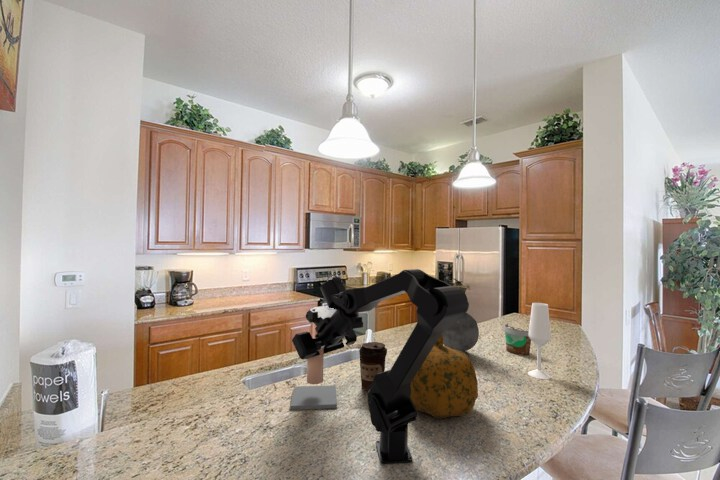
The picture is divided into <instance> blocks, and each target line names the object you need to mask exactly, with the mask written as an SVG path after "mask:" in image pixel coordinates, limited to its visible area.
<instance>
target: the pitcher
mask: <svg viewBox="0 0 720 480" xmlns="http://www.w3.org/2000/svg"><path fill="white" fill-rule="evenodd" d="M452 279H453V280H454V281H455V282H453V281H451V282H450V281H449V285H451V286H457V287H459V288H461V289H462V290H463V291H464V292H465V293H467V290H469V291H471V290H472V288H471V286H470V285H464V284H463V281H462V280H458V279H457V278H454V277H453V278H452ZM442 334H443V346H447V347H449V348H451V349H454V350H458V351H462V352H464V353H465V354H466V355H467V356H468V355H469V354H468V352H467V351H469V350H471V349H473V348H474V346H476V344H477V342H478V340H479V337H480V330H479V325H478V323H477V320H476V319H475V318H474V317H473V316H472V315H471V314H470V313H468V312H466V313H465V314H464V315H463V316H462V317H461V318H460V319H459V320H458V321H457V322H456V323H455V324H454V325H453V326H451V327H450V328H449V329H447V330H446V331H445V332H443V333H442Z"/></svg>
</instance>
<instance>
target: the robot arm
mask: <svg viewBox="0 0 720 480" xmlns="http://www.w3.org/2000/svg"><path fill="white" fill-rule="evenodd" d="M320 291H321V293H322V296H323V298H324V299H325V301H326V305H327V306H328V308H327V307H326V306H323V305H321V306H316V307H312V308H310V309H309V310H307V311H306V313H305V319H306V320H307V321H308V322H309V324H312V323H313V324H314V325H315V326H316V327H315V328H314V330H315V331H316V333H317V334H315V335H314V338H313V336H312V335H311V333H310V332H309V331H308V330H307V331H302V332H298V333H296V334H294V336H293V337H292V338H291V342H292V344H293V346H294V348H295V351H296V352H297V355H298V358H299V359H301V360H307V359H309V358H312V357H315V356H318V355H320V353H319V351H318V350H320V349H321V347H323V346H324V355H325V354H328V353H331V352H334V351H337V350H341V349H343V348H344V347H345V345H346V346H347V347H348V346H352V345H354V344H355V343H356V342H357V341H358V339H357V336H358V335H357V334H356V332H355V330H354V329H361V328H364V322H363V317H362V316H361V315H360V313H364V312H370V311H371V310H373V309H375V308H376V307H377V306H379V304H380V303H381V302H382V301H385V300H388V299H392V298H394V297H397V296H401V295H402V294H405V293H406V294H407V297H408V298H409V300H410V302H411V303H412V304H413V305H414V306H415V307H416V320H417V321H416V324H415V325H414V328H413V329H412V332H411V333H410V335H409V337H408V339H407V340H406V342H405V343H404V345H403V347H402V349H401V351H400V352H399V354H398V356H397V357H396V359H395V361H394V362H393V365H392V366H391V367H390V369H389V370H385V371H384V372H382V373H379V374H376V375H375V377H374V378H373V381H372V384H371V385H370V386H368V388H369V389H370V390H369V392H368V391H367V405H368V410H369V416H370V420H371V425H372V426H374V427H375V431H376V432H378V433H379V440H376V441H375V446H376V450H377V454H378V458H379V462H380V463H381V464H396V463H400V464H401V463H412V462H413V460H414V459H413V455H412V453H411V450H410V449H409V446H408V444H409V442H408V439H409V438H408V433H409V424H410V423H412V422H413V423H414V422H416V421H417V417H418V416H419V412H418V411H419V410H418V409H416V407H415V406H414V404H413V402H412V400H411V398H410V395H411V385H410V384H411V382H412V380H413V379H414V377H415V375H416V374H417V372H418V371H419V369H420V367H421V366H422V364H423V363H424V361H425V359H426V358H427V356H428V355H429V353H430V351H431V350H432V348H433V347H434V345H435V343H436V342H437V340H438V339H439V337H440V335H441V334H442V333H443V332H445V331H446V330H447V329H449V328H450V327H451V326H453V325H454V324H455V323H456V322H457V321H458V320H459V319H460V318H461V317H462V316H463V315H464V314H465V313H468V310H469V308H470V307H469V306H470V305H469V304H470V303H469V299H468V297H467V294H466V292H464V291H463V290H462V289H461V288H459V287H457V286H451V285H450V283H448V282H446V281H444V280H441V279H438V278H437V277H434V276H431V275H429V274H428V273H426V272H425V271H424V270H421V269H419V268H417V269H416V268H415V269H411V268H410V269H403V270H402V271H400V272H399V273H396V274H395V275H392V276H390V277H387V278H385V279H383V280H380V281H378V282H375V283H372V284H371V285H368V286H365V287H364V286H363V287H354V288H349V289H346V288H345V285H344V284H343V280H342V278H341V277H340V276H333V277H332V278H331V280H330V279H329V280H327V281H326V282H324V283H323V284H322V285H320ZM330 309H333V310H335V311H333V313H332V311H331V310H330ZM344 338H345V341H346V342H345V344H344Z"/></svg>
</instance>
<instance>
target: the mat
mask: <svg viewBox="0 0 720 480" xmlns="http://www.w3.org/2000/svg"><path fill="white" fill-rule="evenodd" d="M336 387H337V386H336V384H335V385H334V384H333V385H330V384H329V385H301V386H300V385H299V386H294V388H293V392H292V397H291V401H290V406H289V410H296V411H297V410H319V409H322V410H323V409H325V410H326V409H338V401H337V400H338V399H337V388H336Z"/></svg>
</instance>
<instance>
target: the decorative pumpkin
mask: <svg viewBox="0 0 720 480" xmlns="http://www.w3.org/2000/svg"><path fill="white" fill-rule="evenodd" d="M410 385H411V395H410V398H411V400H412V402H413V404H414V406H415V407H416V409H417V411H419V412H422V413H427V414H428V415H431V416H432V417H433V418H434V419H435V418H436V419H438V420H441V419H445V418H449V417H461V416H465V415H468V414H469V413H471V412H472V410H473V409H474V407H475V403H476V400H477V399H478V397H479V386H478V379H477V375H476V369H475V367H474V363H473V361H472V360H471V358H470V357H469V356H468V354H467V355H466V354H465V353H464V352H462V351H458V350H454V349H451V348H449V347H447V346H445V345H444V344H443V334H441V335H440V337H439V339H438V340H437V342H436V343H435V345H434V347H433V348H432V350H431V351H430V353H429V355H428V356H427V358H426V359H425V361H424V363H423V364H422V366H421V367H420V369H419V371H418V372H417V374H416V375H415V377H414V379H413V380H412V382H411V384H410Z"/></svg>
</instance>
